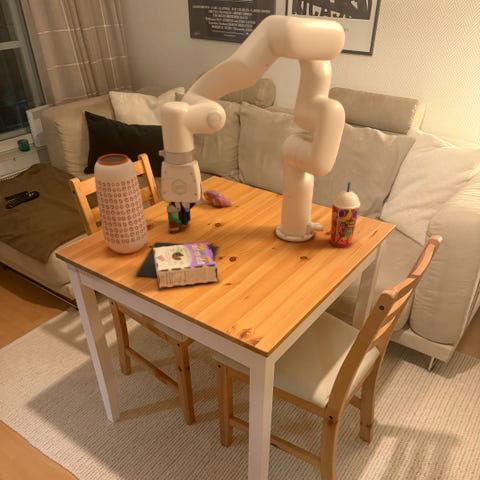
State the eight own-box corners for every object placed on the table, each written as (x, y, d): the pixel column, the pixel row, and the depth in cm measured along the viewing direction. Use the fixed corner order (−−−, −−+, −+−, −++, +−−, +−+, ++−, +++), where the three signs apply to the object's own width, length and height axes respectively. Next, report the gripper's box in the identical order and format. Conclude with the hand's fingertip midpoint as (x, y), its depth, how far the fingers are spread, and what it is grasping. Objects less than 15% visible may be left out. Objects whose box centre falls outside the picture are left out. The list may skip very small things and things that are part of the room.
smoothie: (348, 251, 141) (357, 189, 129) (323, 245, 145) (330, 184, 133) (357, 241, 147) (367, 180, 135) (333, 234, 151) (341, 175, 138)
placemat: (217, 247, 144) (217, 246, 144) (204, 281, 128) (204, 279, 128) (156, 243, 146) (156, 242, 146) (136, 276, 130) (136, 275, 130)
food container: (187, 234, 151) (185, 206, 145) (169, 234, 151) (166, 206, 145) (191, 218, 161) (189, 191, 155) (174, 218, 161) (171, 191, 155)
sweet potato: (206, 205, 174) (199, 192, 168) (213, 197, 175) (207, 183, 169) (224, 212, 168) (218, 199, 163) (232, 204, 169) (226, 190, 164)
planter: (129, 234, 151) (114, 148, 134) (158, 245, 145) (146, 156, 128) (97, 250, 143) (78, 160, 125) (127, 262, 136) (110, 169, 119)
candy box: (209, 258, 138) (154, 264, 135) (208, 240, 134) (152, 246, 131) (217, 282, 127) (158, 289, 124) (217, 264, 124) (156, 271, 121)
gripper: (146, 159, 112) (155, 227, 124) (205, 162, 111) (209, 230, 122) (155, 150, 118) (162, 215, 129) (211, 152, 117) (213, 218, 128)
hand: (185, 222), depth 126 cm, fingers closed
